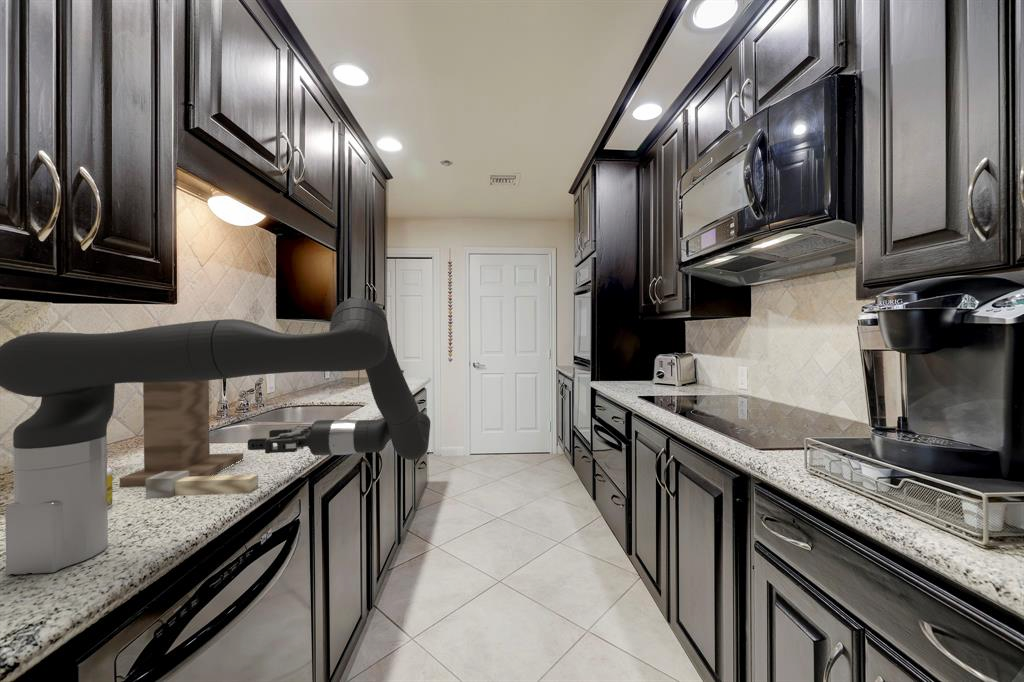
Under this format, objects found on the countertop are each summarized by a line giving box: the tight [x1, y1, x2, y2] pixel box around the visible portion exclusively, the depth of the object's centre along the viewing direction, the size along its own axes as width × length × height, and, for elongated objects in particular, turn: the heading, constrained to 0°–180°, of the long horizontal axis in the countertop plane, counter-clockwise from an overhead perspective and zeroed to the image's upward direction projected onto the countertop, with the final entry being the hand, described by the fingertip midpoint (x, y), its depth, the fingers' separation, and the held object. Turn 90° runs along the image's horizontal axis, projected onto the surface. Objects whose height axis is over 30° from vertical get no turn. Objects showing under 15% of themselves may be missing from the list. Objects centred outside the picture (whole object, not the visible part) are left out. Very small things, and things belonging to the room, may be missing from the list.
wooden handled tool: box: [145, 471, 259, 499], centre depth 86 cm, size 20×5×4 cm, turn 93°
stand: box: [119, 380, 244, 488], centre depth 99 cm, size 18×16×32 cm
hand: (259, 439), depth 87 cm, fingers open, 8 cm apart
